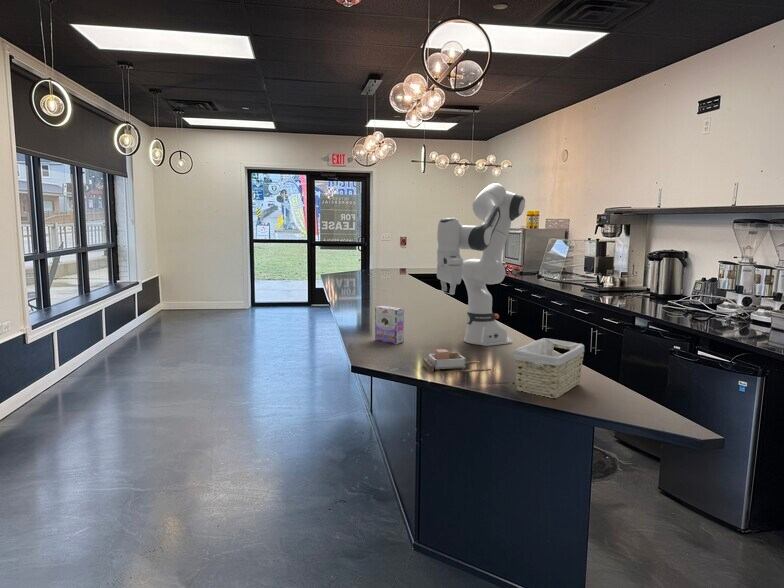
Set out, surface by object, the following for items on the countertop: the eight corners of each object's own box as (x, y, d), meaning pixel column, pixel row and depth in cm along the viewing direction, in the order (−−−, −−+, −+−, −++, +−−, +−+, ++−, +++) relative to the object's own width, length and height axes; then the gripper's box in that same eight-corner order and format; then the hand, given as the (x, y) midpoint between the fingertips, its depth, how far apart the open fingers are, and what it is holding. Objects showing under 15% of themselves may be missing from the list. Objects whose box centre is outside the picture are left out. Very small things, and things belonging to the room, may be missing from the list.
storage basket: (556, 402, 164) (559, 357, 162) (510, 391, 175) (512, 348, 173) (584, 384, 182) (586, 343, 180) (540, 375, 193) (542, 336, 191)
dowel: (456, 361, 199) (457, 351, 199) (460, 364, 196) (460, 353, 195) (447, 361, 198) (447, 351, 198) (450, 364, 195) (451, 354, 194)
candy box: (404, 342, 242) (404, 308, 240) (395, 345, 238) (396, 309, 236) (383, 338, 251) (383, 304, 249) (374, 340, 247) (374, 306, 245)
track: (479, 364, 207) (480, 354, 206) (493, 373, 194) (493, 363, 194) (421, 367, 201) (422, 357, 201) (431, 377, 189) (432, 366, 188)
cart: (457, 364, 202) (457, 352, 202) (465, 370, 194) (465, 358, 193) (427, 365, 200) (428, 354, 199) (434, 372, 191) (435, 360, 190)
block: (445, 361, 198) (445, 349, 198) (448, 364, 195) (449, 351, 194) (435, 362, 197) (435, 349, 197) (438, 365, 194) (438, 352, 193)
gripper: (433, 256, 215) (433, 289, 218) (449, 260, 196) (448, 296, 198) (447, 256, 217) (447, 288, 219) (464, 260, 197) (464, 296, 199)
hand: (448, 292), depth 208 cm, fingers open, 8 cm apart
